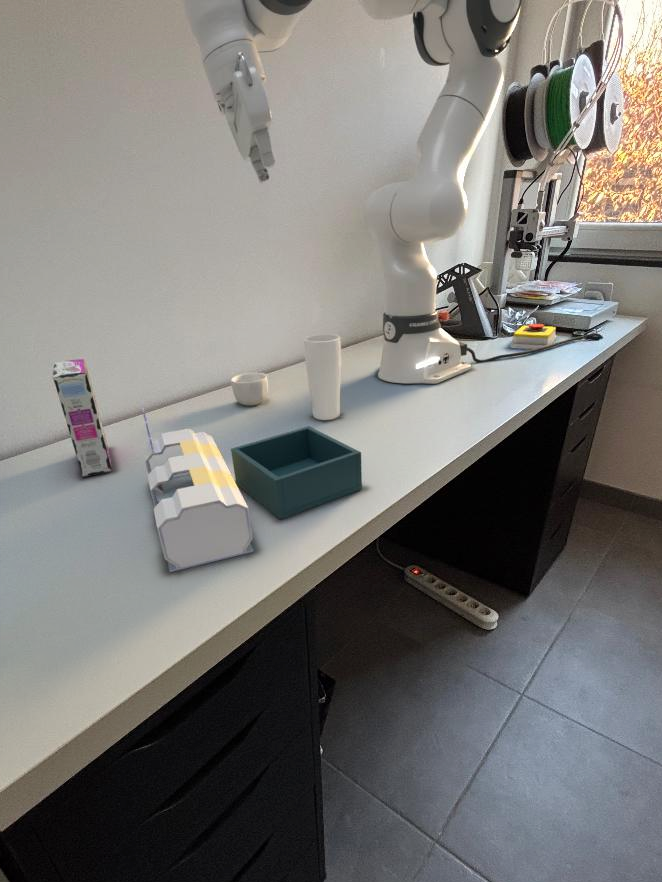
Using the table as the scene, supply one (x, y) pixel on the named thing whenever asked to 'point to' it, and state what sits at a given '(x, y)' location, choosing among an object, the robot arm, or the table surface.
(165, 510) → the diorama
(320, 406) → the drinking glass
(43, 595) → the table surface
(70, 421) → the candy bar box
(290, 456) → the bin
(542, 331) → the emergency button
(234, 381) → the teacup
